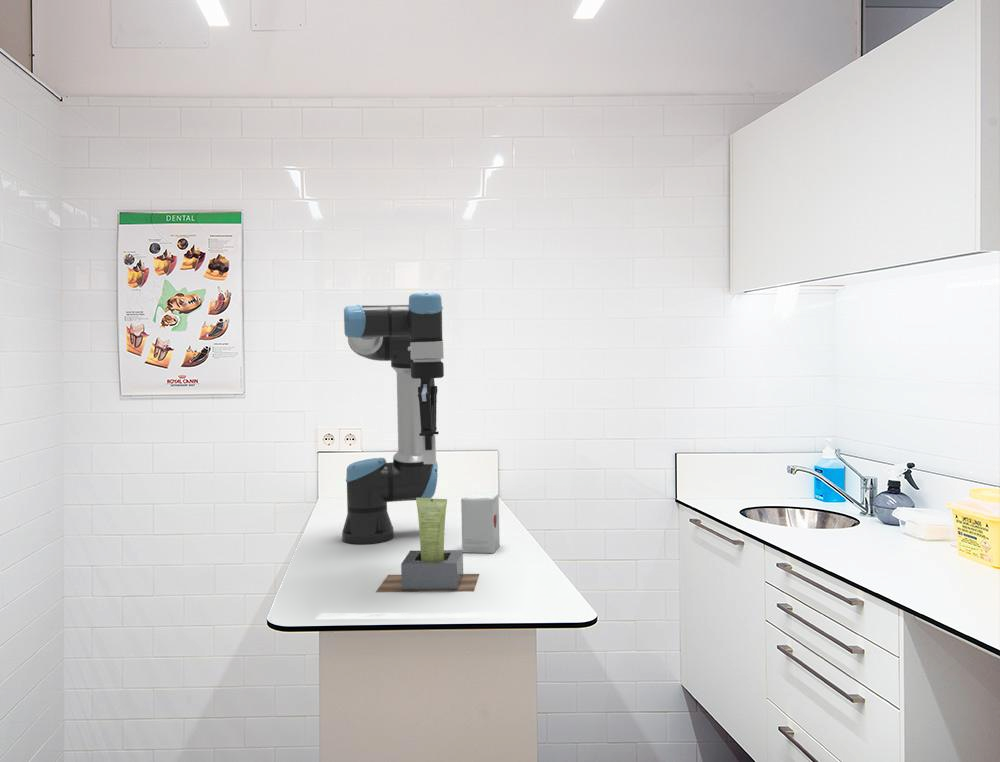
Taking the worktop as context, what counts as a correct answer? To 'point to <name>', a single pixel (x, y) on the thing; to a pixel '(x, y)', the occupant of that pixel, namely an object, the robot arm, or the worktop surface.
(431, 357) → the robot arm
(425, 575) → the collar
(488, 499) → the supplement box
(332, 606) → the worktop surface
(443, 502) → the tube
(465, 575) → the base plate
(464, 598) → the worktop surface
